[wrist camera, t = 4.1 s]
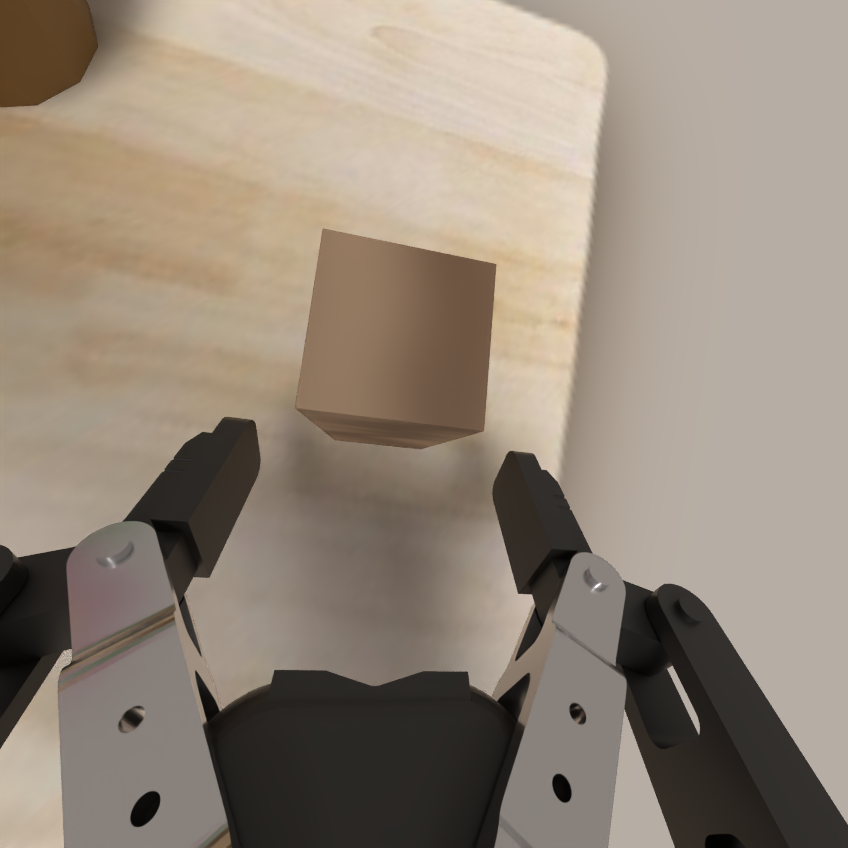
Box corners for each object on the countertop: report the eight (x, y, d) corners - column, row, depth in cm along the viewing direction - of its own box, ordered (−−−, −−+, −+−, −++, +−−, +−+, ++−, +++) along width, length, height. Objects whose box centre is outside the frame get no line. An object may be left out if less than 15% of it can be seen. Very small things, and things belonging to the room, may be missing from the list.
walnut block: (335, 439, 19) (295, 408, 8) (346, 356, 20) (322, 228, 9) (420, 449, 20) (483, 430, 9) (428, 368, 21) (496, 263, 10)
